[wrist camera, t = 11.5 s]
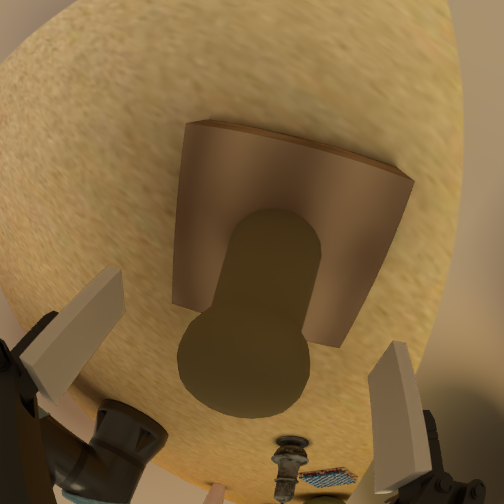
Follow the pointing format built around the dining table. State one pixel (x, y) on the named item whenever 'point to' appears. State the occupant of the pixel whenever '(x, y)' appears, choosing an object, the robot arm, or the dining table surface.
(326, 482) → the woven mat
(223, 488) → the smoothie
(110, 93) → the dining table surface
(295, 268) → the olive brown knobbed peg
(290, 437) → the salt shaker
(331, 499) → the green monster head
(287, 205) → the walnut base
